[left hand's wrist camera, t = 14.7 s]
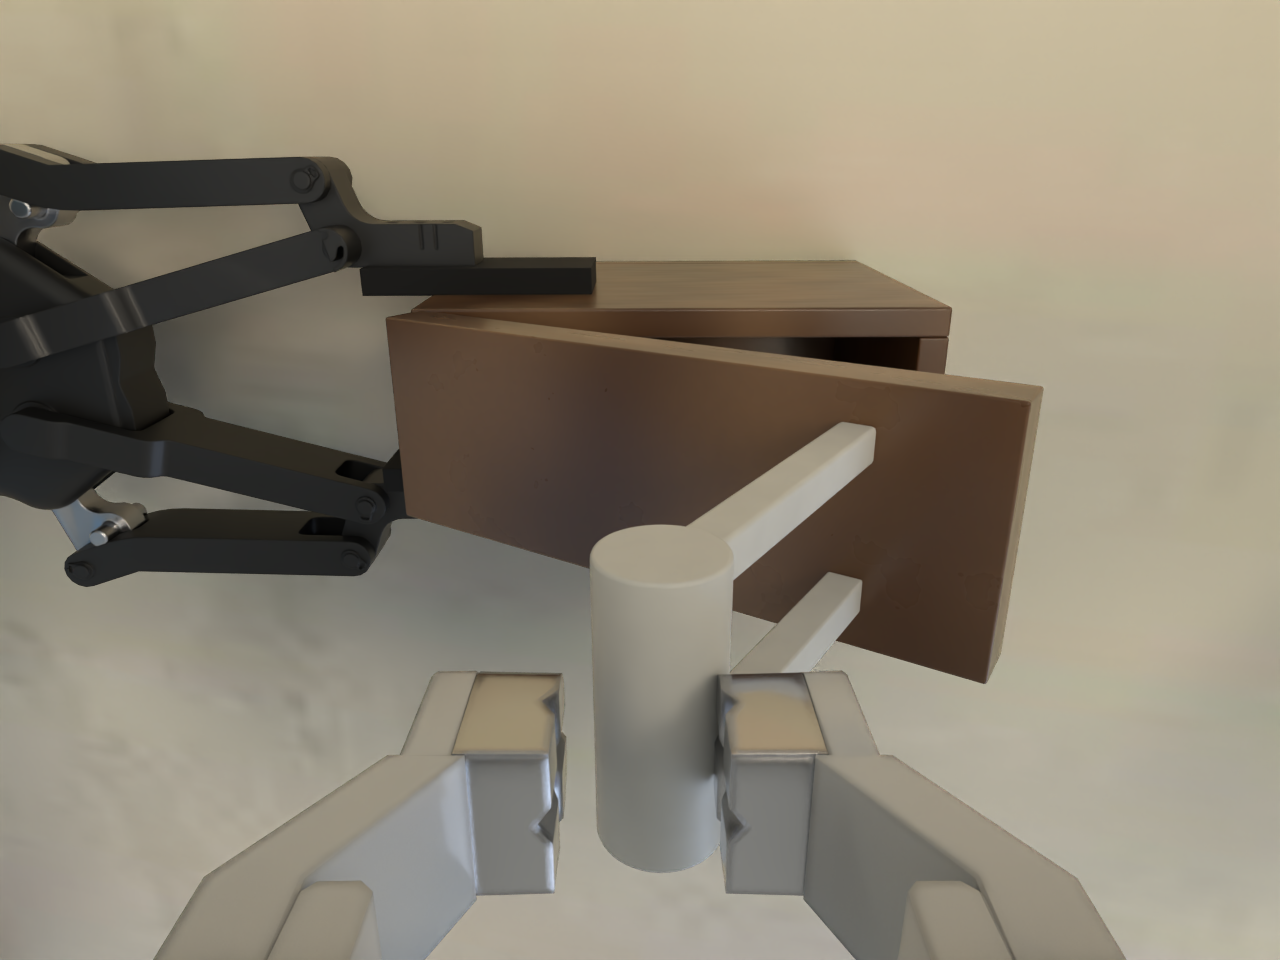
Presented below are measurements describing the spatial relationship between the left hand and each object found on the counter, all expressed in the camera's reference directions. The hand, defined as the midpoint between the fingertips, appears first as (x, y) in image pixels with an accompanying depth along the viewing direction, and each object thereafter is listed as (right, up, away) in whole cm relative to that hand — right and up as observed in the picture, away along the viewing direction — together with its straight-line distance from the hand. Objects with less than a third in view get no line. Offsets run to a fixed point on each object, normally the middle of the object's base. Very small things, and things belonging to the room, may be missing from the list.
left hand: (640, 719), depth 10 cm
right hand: (-1, +6, +16) cm, 18 cm away
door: (+1, +3, +9) cm, 10 cm away
